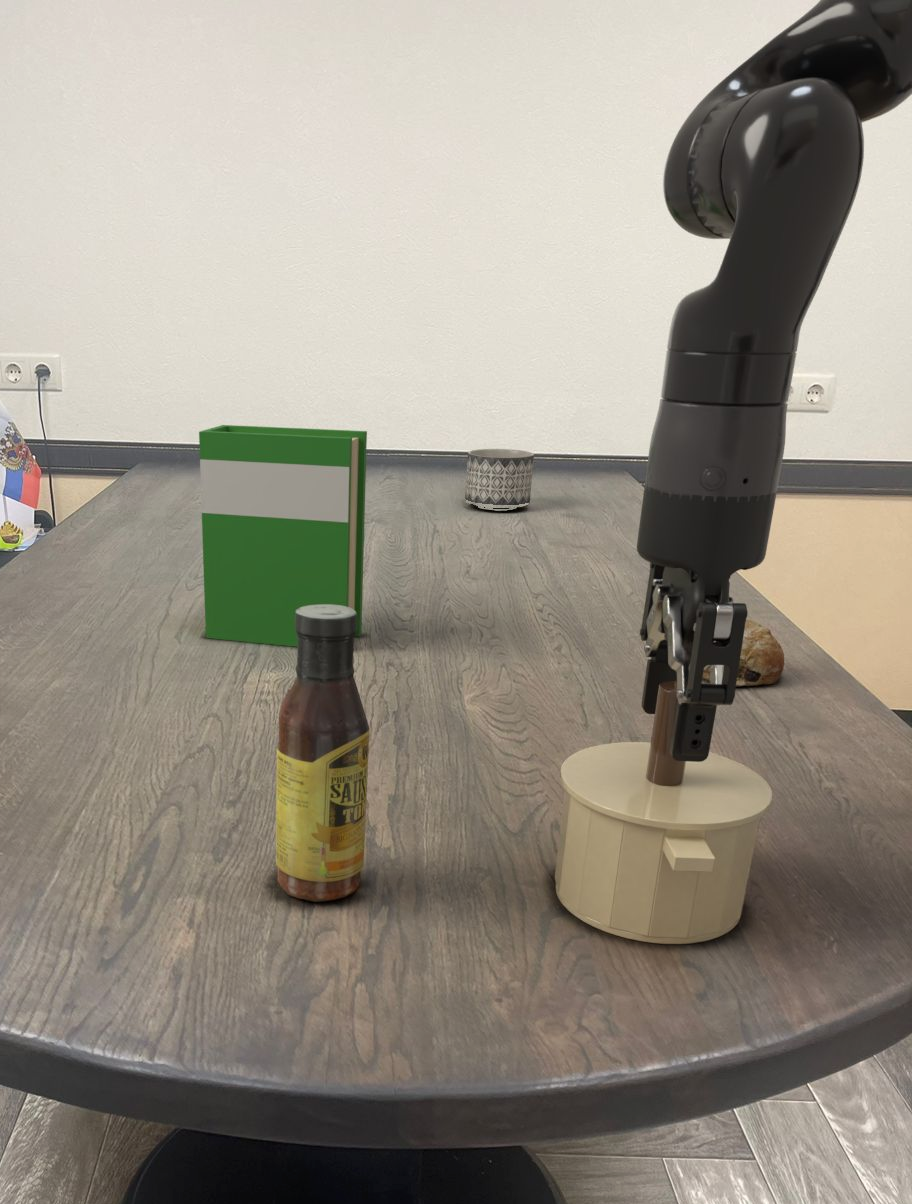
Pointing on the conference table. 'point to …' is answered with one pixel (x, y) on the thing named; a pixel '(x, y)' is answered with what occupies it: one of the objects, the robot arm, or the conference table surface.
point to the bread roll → (758, 657)
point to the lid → (665, 781)
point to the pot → (652, 876)
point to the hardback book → (280, 527)
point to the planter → (499, 476)
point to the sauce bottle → (322, 762)
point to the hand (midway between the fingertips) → (671, 734)
